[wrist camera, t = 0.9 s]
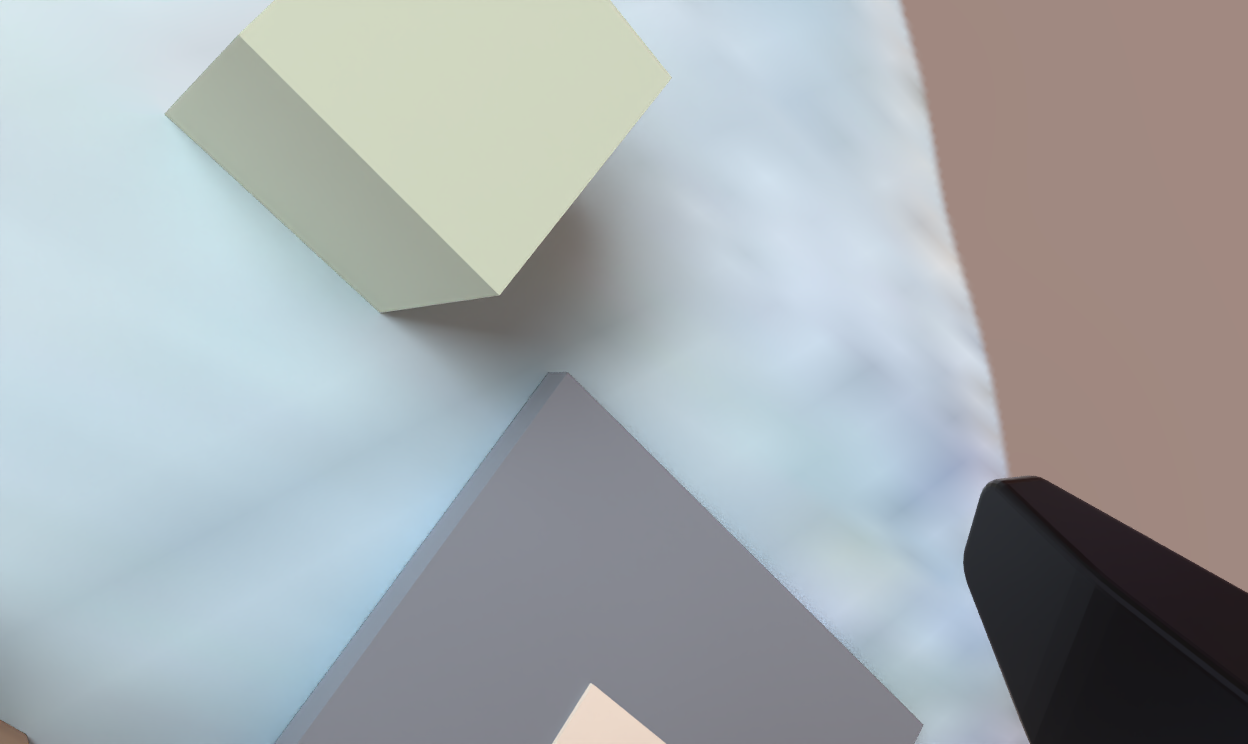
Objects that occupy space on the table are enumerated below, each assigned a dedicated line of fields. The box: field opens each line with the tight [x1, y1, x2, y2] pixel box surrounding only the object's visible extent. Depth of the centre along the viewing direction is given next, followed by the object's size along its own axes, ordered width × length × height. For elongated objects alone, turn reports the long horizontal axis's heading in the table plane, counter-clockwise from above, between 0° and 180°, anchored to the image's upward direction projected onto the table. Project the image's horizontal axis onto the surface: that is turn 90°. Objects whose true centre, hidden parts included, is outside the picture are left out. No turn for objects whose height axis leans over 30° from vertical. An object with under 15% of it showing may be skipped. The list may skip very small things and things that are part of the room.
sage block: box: [165, 0, 672, 313], centre depth 18 cm, size 5×5×5 cm
